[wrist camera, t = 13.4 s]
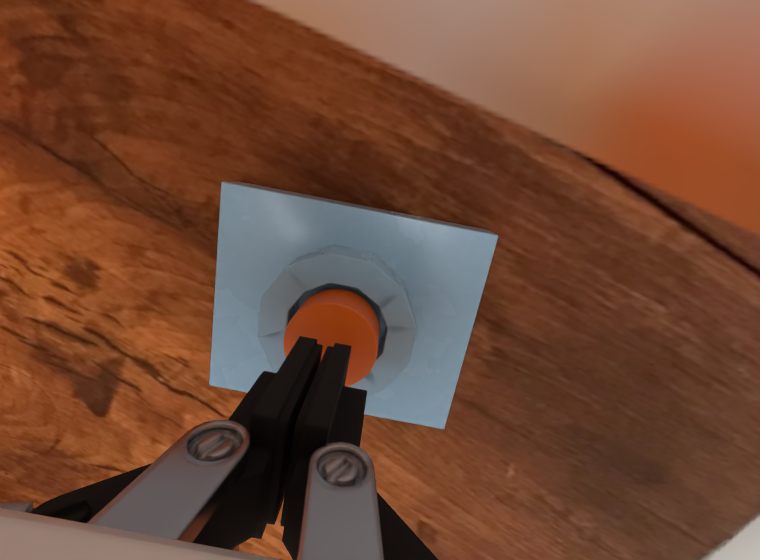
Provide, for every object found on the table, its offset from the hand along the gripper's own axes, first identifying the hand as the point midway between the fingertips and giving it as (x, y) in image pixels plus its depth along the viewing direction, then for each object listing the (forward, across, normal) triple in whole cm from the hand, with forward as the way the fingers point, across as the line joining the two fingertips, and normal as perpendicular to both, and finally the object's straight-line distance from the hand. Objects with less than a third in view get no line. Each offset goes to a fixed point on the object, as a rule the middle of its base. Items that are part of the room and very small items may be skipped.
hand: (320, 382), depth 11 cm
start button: (+4, 0, 0) cm, 4 cm away
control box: (+7, 0, 0) cm, 7 cm away
